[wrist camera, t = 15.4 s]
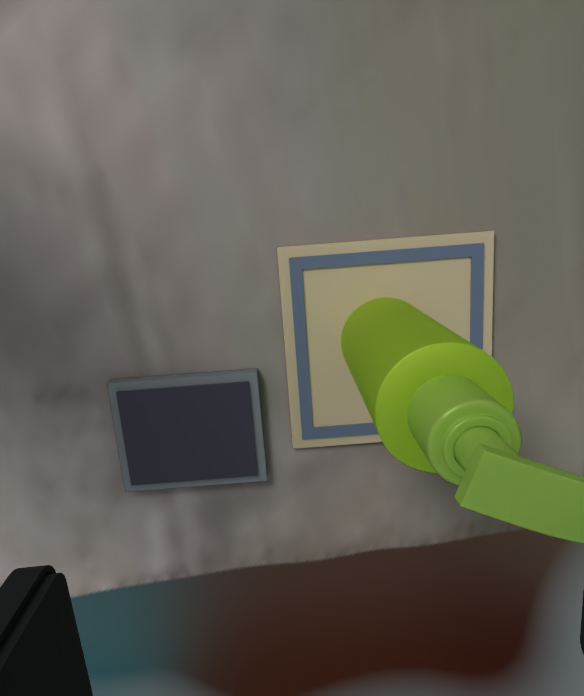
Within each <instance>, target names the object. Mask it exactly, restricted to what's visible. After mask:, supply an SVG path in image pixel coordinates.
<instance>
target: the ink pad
mask: <svg viewBox="0 0 584 696" xmlns="http://www.w3.org/2000/svg"><path fill="white" fill-rule="evenodd" d="M107 386H108V392H109V398H110V404H111V410H112V416H113V422H114V428H115V434H116V440H117V446H118V452H119V458H120V464H121V470H122V476H123V482H124V488H125V492H130V491H143V490H155V489H168V488H181V487H194V486H207V485H219V484H232V483H245V482H258V481H267V466H266V456H265V445H264V434H263V423H262V413H261V402H260V391H259V381H258V370H257V368H254V369H241V370H228V371H215V372H202V373H190V374H177V375H164V376H151V377H138V378H125V379H112V380H110V381H109V382H108V383H107Z"/></svg>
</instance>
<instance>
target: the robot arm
mask: <svg viewBox="0 0 584 696" xmlns="http://www.w3.org/2000/svg"><path fill="white" fill-rule="evenodd" d="M580 643H581V648H582V651H583V654H584V592H583V606H582V620H581V634H580ZM0 696H93V695H92V689H91V685H90V681H89V676H88V672H87V668H86V664H85V659H84V655H83V651H82V646H81V642H80V638H79V633H78V629H77V625H76V621H75V616H74V612H73V608H72V604H71V599H70V595H69V590H68V586H67V582H66V578H65V576H64V575H63V574H62V573H56V572H55V569H54V568H53V567H52V566H50V565H46V566H36V567H27V568H18V569H15V570H14V571H13V572H12V573H11V574H10V575H9V576H8V578H7V579H6V580H5V582H4V583H3V585H2V586H1V587H0Z"/></svg>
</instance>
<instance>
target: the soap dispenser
mask: <svg viewBox="0 0 584 696" xmlns="http://www.w3.org/2000/svg"><path fill="white" fill-rule="evenodd" d="M341 349H342V353H343V357H344V359H345V361H346V363H347V366H348V368H349V370H350V372H351V374H352V376H353V379H354V381H355V383H356V385H357V387H358V390H359V392H360V394H361V396H362V398H363V401H364V403H365V405H366V407H367V409H368V412H369V414H370V416H371V418H372V420H373V423H374V425H375V427H376V429H377V431H378V434H379V436H380V438H381V440H382V442H383V443H384V445H385V446H386V448H387V449H388V450H389V452H390V453H391V454H392V455H393V456H394V457H396V458H397V459H398V460H399V461H401V462H402V463H404V464H406V465H408V466H410V467H412V468H414V469H417V470H421V471H425V472H431V473H438V474H439V475H440V476H441V477H442V478H443V479H445V480H446V481H448V482H450V483H452V484H454V485H458V486H459V487H458V489H457V492H456V494H455V496H454V497H455V499H456V500H457V502H458V503H459V505H460V506H461V507H463V508H466V509H469V510H472V511H475V512H478V513H481V514H484V515H487V516H489V517H492V518H495V519H498V520H501V521H504V522H507V523H511V524H514V525H517V526H520V527H523V528H526V529H529V530H532V531H536V532H539V533H543V534H546V535H549V536H553V537H557V538H561V539H565V540H569V541H574V542H579V543H584V477H583V476H579V475H576V474H573V473H570V472H566V471H563V470H560V469H557V468H554V467H551V466H548V465H545V464H542V463H538V462H535V461H532V460H529V459H526V458H523V457H521V456H520V455H519V452H520V448H521V432H520V428H519V426H518V423H517V421H516V420H515V418H514V417H513V415H512V412H513V393H512V388H511V384H510V382H509V379H508V377H507V375H506V373H505V371H504V370H503V368H502V367H501V366H500V364H499V363H498V362H497V361H496V360H495V359H494V358H493V357H491V356H490V355H489V354H488V353H486V352H485V351H483V350H481V349H480V348H478V347H477V346H475V345H474V344H472V343H470V342H469V341H467V340H466V339H464V338H462V337H461V336H459V335H458V334H456V333H455V332H453V331H451V330H450V329H448V328H447V327H445V326H444V325H442V324H440V323H439V322H437V321H436V320H434V319H433V318H431V317H429V316H428V315H426V314H425V313H423V312H421V311H420V310H418V309H417V308H415V307H414V306H412V305H410V304H409V303H407V302H405V301H403V300H400V299H397V298H390V297H383V298H376V299H373V300H370V301H368V302H366V303H364V304H362V305H360V306H359V307H358V308H357V309H355V310H354V311H353V312H352V314H351V315H350V316H349V318H348V319H347V321H346V323H345V325H344V327H343V330H342V335H341Z"/></svg>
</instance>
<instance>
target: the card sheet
mask: <svg viewBox="0 0 584 696" xmlns="http://www.w3.org/2000/svg"><path fill="white" fill-rule="evenodd" d="M277 254H278V266H279V279H280V291H281V304H282V317H283V329H284V342H285V354H286V367H287V380H288V392H289V405H290V417H291V430H292V442H293V449H296V448H309V447H322V446H334V445H347V444H360V443H373V442H382V440H381V438H380V436H379V434H378V431H377V429H376V427H375V425H374V423H373V420H372V418H371V416H370V414H369V412H368V409H367V407H366V405H365V403H364V401H363V398H362V396H361V394H360V392H359V390H358V387H357V385H356V383H355V381H354V379H353V376H352V374H351V372H350V370H349V368H348V366H347V363H346V361H345V359H344V357H343V353H342V349H341V335H342V330H343V327H344V325H345V323H346V321H347V319H348V318H349V316H350V315H351V314H352V312H353V311H354V310H355V309H357V308H358V307H359V306H360V305H362V304H364V303H366V302H368V301H370V300H373V299H376V298H383V297H390V298H397V299H400V300H403V301H405V302H407V303H409V304H410V305H412V306H414V307H415V308H417V309H418V310H420V311H421V312H423V313H425V314H426V315H428V316H429V317H431V318H433V319H434V320H436V321H437V322H439V323H440V324H442V325H444V326H445V327H447V328H448V329H450V330H451V331H453V332H455V333H456V334H458V335H459V336H461V337H462V338H464V339H466V340H467V341H469V342H470V343H472V344H474V345H475V346H477V347H478V348H480V349H481V350H483V351H485V352H486V353H488V354H489V355H490V356H491V357H492V319H493V268H494V231H484V232H471V233H458V234H444V235H431V236H418V237H405V238H392V239H379V240H366V241H353V242H340V243H326V244H313V245H300V246H287V247H277Z"/></svg>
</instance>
